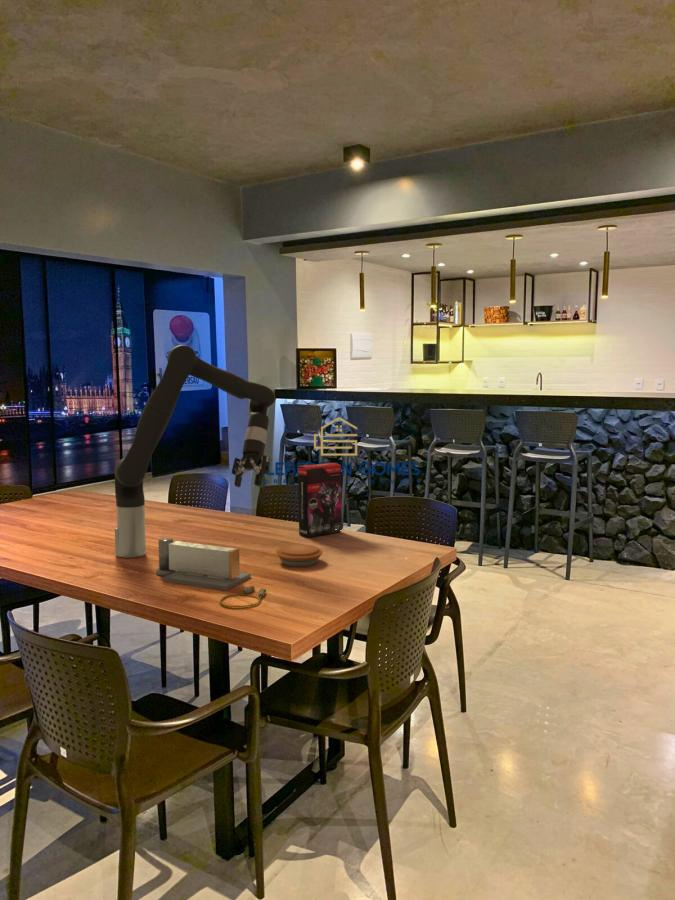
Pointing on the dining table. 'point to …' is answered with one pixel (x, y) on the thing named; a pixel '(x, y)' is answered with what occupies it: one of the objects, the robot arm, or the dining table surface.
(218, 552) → the grey rectangular block
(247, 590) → the extension cord
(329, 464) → the graphics card box
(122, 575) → the dining table surface
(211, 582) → the panel
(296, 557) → the pie
